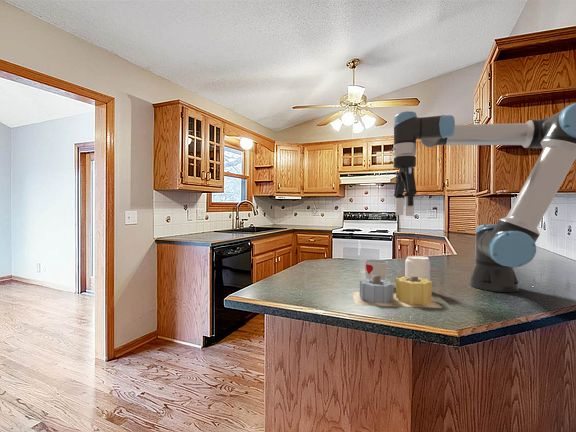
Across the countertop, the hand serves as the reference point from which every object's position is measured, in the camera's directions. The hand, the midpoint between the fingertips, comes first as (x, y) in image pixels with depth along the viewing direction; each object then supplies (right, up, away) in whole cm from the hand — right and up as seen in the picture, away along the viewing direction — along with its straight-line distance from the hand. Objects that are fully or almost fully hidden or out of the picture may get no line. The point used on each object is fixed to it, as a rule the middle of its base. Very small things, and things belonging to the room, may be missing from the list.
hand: (404, 215), depth 112 cm
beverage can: (+4, -27, -3) cm, 27 cm away
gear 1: (-15, -26, -17) cm, 34 cm away
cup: (-10, -27, +1) cm, 29 cm away
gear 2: (-4, -26, -18) cm, 32 cm away
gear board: (-10, -27, -17) cm, 34 cm away
